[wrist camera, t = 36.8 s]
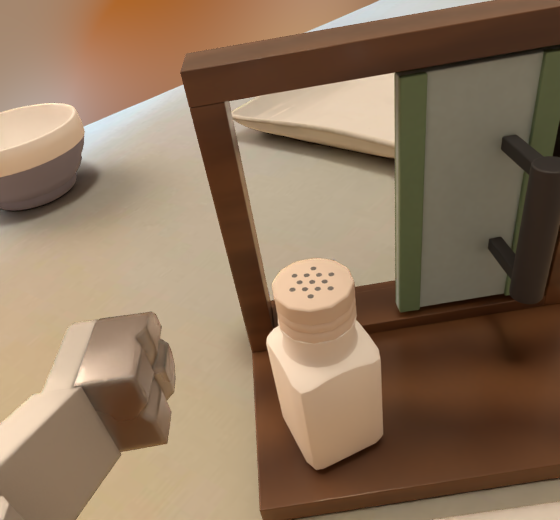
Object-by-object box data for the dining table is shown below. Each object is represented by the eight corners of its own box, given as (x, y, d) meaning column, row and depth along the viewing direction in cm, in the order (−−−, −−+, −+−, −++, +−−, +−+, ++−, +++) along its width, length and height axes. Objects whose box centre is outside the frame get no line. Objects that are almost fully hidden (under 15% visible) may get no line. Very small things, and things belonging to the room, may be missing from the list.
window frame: (680, 459, 22) (929, 45, 12) (264, 523, 23) (147, 177, 12) (528, 271, 34) (586, -24, 23) (252, 316, 34) (188, 45, 23)
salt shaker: (313, 480, 23) (285, 333, 17) (279, 415, 26) (246, 272, 20) (388, 442, 24) (385, 292, 18) (347, 384, 27) (333, 240, 21)
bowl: (124, 182, 54) (100, 115, 50) (-9, 244, 47) (-51, 173, 43) (72, 153, 64) (47, 95, 59) (-45, 201, 57) (-83, 139, 52)
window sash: (565, 345, 25) (643, 76, 17) (422, 368, 25) (433, 112, 17) (517, 282, 30) (561, 42, 22) (395, 302, 30) (393, 71, 22)
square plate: (355, 70, 75) (354, 43, 73) (547, 87, 59) (553, 53, 56) (229, 139, 60) (222, 108, 58) (439, 188, 44) (441, 147, 41)
